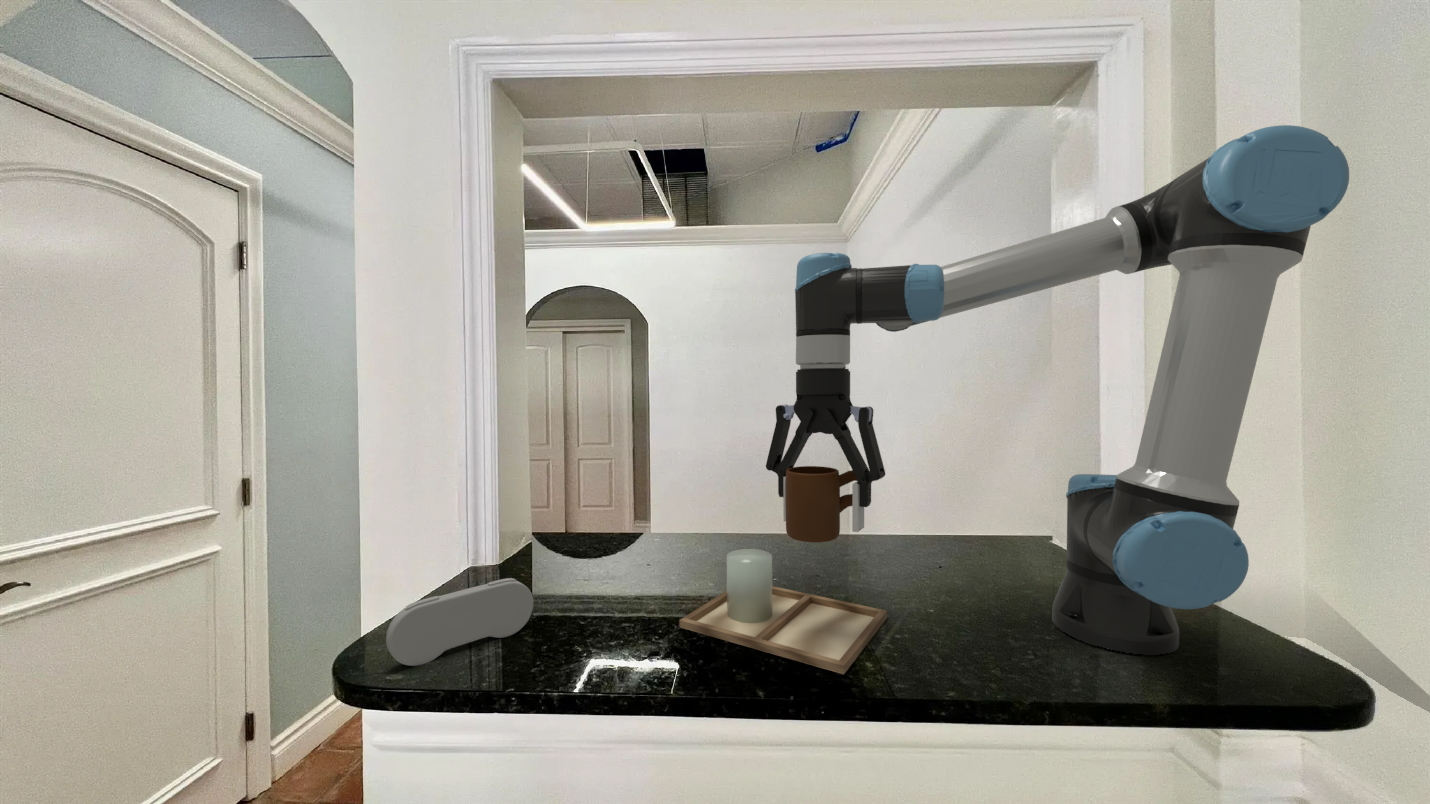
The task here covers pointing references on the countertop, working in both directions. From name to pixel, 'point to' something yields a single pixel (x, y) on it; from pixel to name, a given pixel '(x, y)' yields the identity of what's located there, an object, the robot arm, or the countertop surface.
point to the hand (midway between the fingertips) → (822, 524)
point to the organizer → (796, 628)
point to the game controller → (458, 620)
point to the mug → (815, 502)
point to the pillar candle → (749, 585)
